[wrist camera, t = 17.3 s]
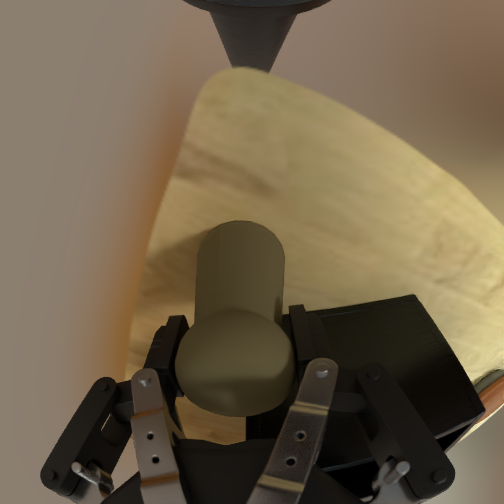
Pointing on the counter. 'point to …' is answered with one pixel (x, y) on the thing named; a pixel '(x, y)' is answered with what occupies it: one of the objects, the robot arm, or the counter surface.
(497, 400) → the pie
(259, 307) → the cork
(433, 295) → the counter surface
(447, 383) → the black open box
